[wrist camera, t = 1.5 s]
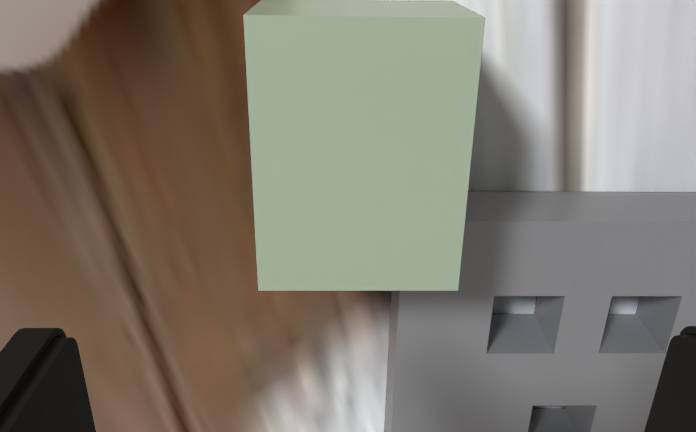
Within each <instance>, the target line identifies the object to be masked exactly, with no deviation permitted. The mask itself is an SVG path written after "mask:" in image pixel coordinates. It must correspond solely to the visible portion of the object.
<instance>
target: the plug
mask: <svg viewBox="0 0 696 432" xmlns="http://www.w3.org/2000/svg"><path fill="white" fill-rule="evenodd" d="M243 17H244V36H245V54H246V73H247V91H248V110H249V128H250V146H251V165H252V183H253V202H254V220H255V239H256V257H257V276H258V291H458V286H459V276H460V266H461V256H462V246H463V236H464V226H465V216H466V206H467V196H468V186H469V176H470V166H471V156H472V146H473V136H474V126H475V116H476V106H477V95H478V85H479V75H480V65H481V55H482V45H483V35H484V25H485V17H483V16H481V15H479V14H477V13H475V12H473V11H471V10H469V9H467V8H465V7H463V6H461V5H459V4H458V3H456V2H454V1H423V0H261V1H260V2H259V3H257V4H256V5H255V6H254V7H253V8H251V9H250V10H249V11H248V12H246V13H245V14H244V15H243Z"/></svg>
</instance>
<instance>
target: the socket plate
mask: <svg viewBox="0 0 696 432" xmlns="http://www.w3.org/2000/svg"><path fill="white" fill-rule="evenodd" d="M494 296H537V300H536V306H535V311H534V314H492V309H493V302H494ZM612 296H640V299H639V303H638V307H637V311H636V314H608V311H609V307H610V303H611V299H612ZM688 326H696V192H538V191H468V196H467V206H466V216H465V226H464V236H463V246H462V256H461V266H460V276H459V286H458V291H392V292H391V311H390V330H389V349H388V368H387V387H386V406H385V425H384V432H644V430H645V427H646V423H647V420H648V416H649V413H650V409H651V406H652V402H653V399H654V395H655V392H656V388H657V385H658V381H659V378H660V374H661V371H662V367H663V364H664V360H665V357H666V353H667V350H668V346H669V343H670V341H671V339H672V338H673V337H674V336H676V335H680V332H681V331H682V330H683V329H684V328H685V327H688ZM533 406H565V408H564V409H532V407H533Z"/></svg>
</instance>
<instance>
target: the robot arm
mask: <svg viewBox="0 0 696 432" xmlns="http://www.w3.org/2000/svg"><path fill="white" fill-rule="evenodd" d="M0 432H96V431H95V426H94V421H93V416H92V411H91V407H90V402H89V397H88V392H87V388H86V383H85V378H84V373H83V369H82V364H81V359H80V354H79V349H78V345H77V342H76V340H75V339H74V338H66V335H65V333H64V331H63V330H62V329H60V328H23V329H19V330H18V331H17V332H16V333H15V334H14V335H13V337H12V338H11V339H10V341H9V342H8V343H7V344H6V346H5V347H4V348H3V349H2V351H1V352H0ZM644 432H696V326H688V327H685V328H684V329H683V330H682V331H681V332H680V335H676V336H674V337H673V338H672V339H671V341H670V343H669V346H668V350H667V353H666V357H665V360H664V364H663V367H662V371H661V374H660V378H659V381H658V385H657V388H656V392H655V395H654V399H653V402H652V406H651V409H650V413H649V416H648V420H647V423H646V427H645V430H644Z"/></svg>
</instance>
